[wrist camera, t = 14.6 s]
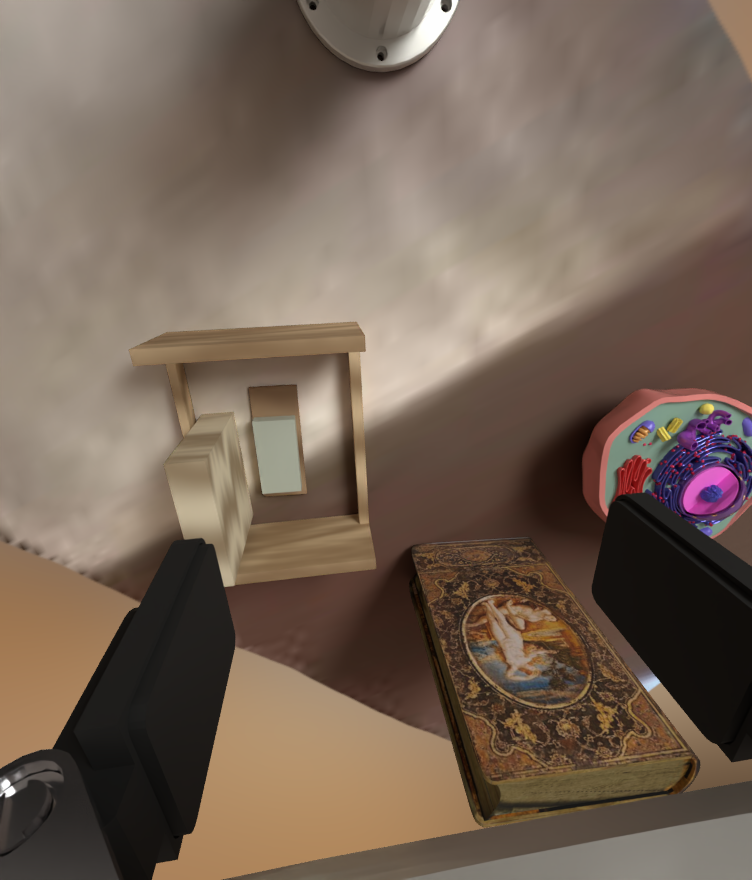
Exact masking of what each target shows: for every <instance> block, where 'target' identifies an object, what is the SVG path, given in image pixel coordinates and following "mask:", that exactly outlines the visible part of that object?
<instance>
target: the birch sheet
mask: <svg viewBox="0 0 752 880" xmlns="http://www.w3.org/2000/svg"><path fill="white" fill-rule="evenodd" d="M163 465H164V469H165V472H166V476H167V480H168V483H169V487H170V490H171V494H172V497H173V501H174V505H175V508H176V512H177V515H178V519H179V523H180V526H181V530H182V533H183V537H184V540H185V539H195V538H203V539H204V540H205V542H206V544H213V545H214V547H215V551H216V555H217V559H218V564H219V568H220V572H221V576H222V580H223V584H224V587H228V586H234V585H235V581H236V578H237V574H238V570H239V566H240V562H241V559H242V555H243V551H244V547H245V544H246V540H247V536H248V532H249V529H250V525H251V521H252V517H253V511H252V506H251V501H250V495H249V490H248V485H247V480H246V474H245V469H244V464H243V459H242V453H241V448H240V443H239V438H238V433H237V427H236V422H235V417H234V412H227V413H214V414H202V415H201V417H200V418H199V419H198V420H197V422H196V423H195V424H194V426H193V427H192V428H191V430H190V431H189V432H188V433H187V435H186V436H185V437H184V439H183V440H182V441H181V442H180V444H179V445H178V446H177V448H176V449H175V450H174V451H173V453H172V454H171V455H170V457H169V458H168V459H167V460H166V462H165V463H164V464H163Z"/></svg>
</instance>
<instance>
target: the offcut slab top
mask: <svg viewBox="0 0 752 880" xmlns="http://www.w3.org/2000/svg"><path fill="white" fill-rule="evenodd" d="M252 426H253V433H254V439H255V446H256V453H257V460H258V467H259V474H260V481H261V488H262V494H269V493H282V492H296V491H302V481H301V471H300V461H299V450H298V440H297V430H296V420H295V415H291V416H272V417H254V418H253V421H252Z"/></svg>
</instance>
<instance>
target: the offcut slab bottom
mask: <svg viewBox="0 0 752 880" xmlns="http://www.w3.org/2000/svg"><path fill="white" fill-rule="evenodd" d="M248 389H249V396H250V403H251V410H252V416H253V418H254V417H272V416H291V415H295V420H296V430H297V440H298V450H299V461H300V471H301V481H302V491H296V492H282V493H269V494H264V497H266V496H280V495H293V494H307V487H306V477H305V467H304V457H303V447H302V436H301V426H300V416H299V406H298V396H297V386H296V385H279V386H259V387H249V388H248Z"/></svg>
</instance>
